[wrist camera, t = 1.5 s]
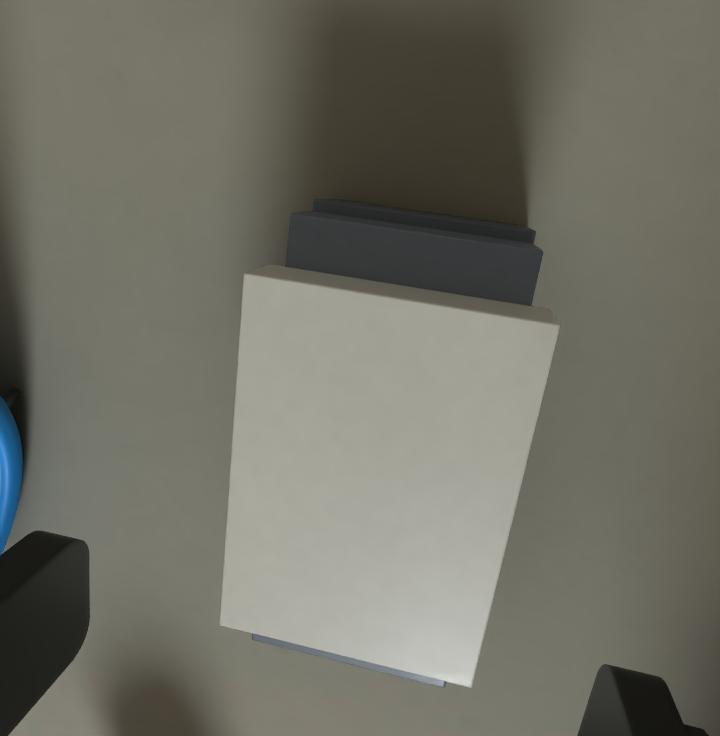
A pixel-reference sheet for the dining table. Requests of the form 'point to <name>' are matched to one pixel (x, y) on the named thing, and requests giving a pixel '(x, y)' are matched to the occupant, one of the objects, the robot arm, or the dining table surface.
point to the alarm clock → (9, 465)
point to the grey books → (412, 276)
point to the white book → (377, 465)
